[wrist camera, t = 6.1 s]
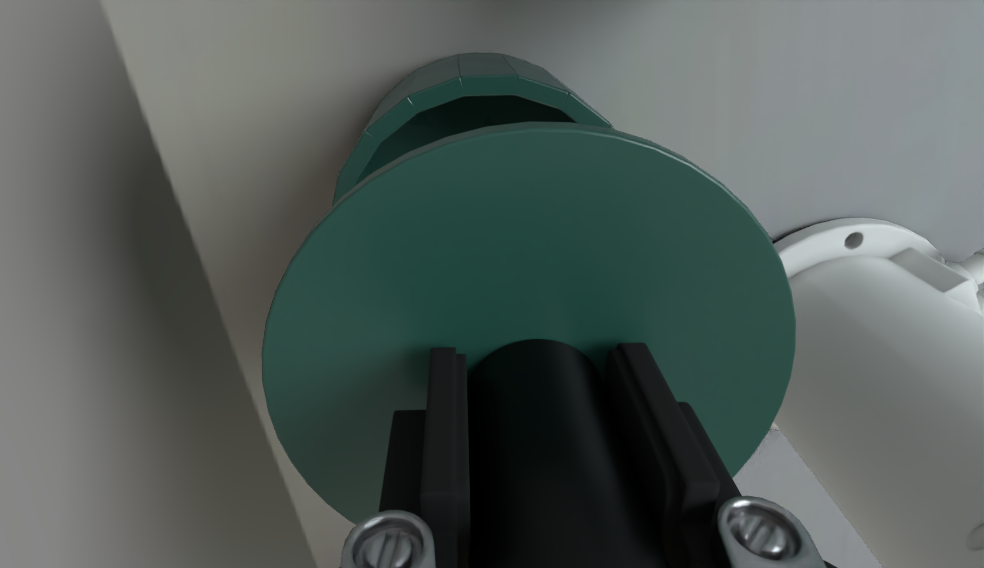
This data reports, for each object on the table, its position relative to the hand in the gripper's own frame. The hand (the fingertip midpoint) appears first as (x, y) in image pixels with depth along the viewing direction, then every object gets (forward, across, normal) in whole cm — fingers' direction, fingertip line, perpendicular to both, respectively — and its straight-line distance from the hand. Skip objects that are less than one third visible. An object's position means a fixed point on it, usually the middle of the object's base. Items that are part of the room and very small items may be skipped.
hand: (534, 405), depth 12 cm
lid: (+1, 0, 0) cm, 1 cm away
